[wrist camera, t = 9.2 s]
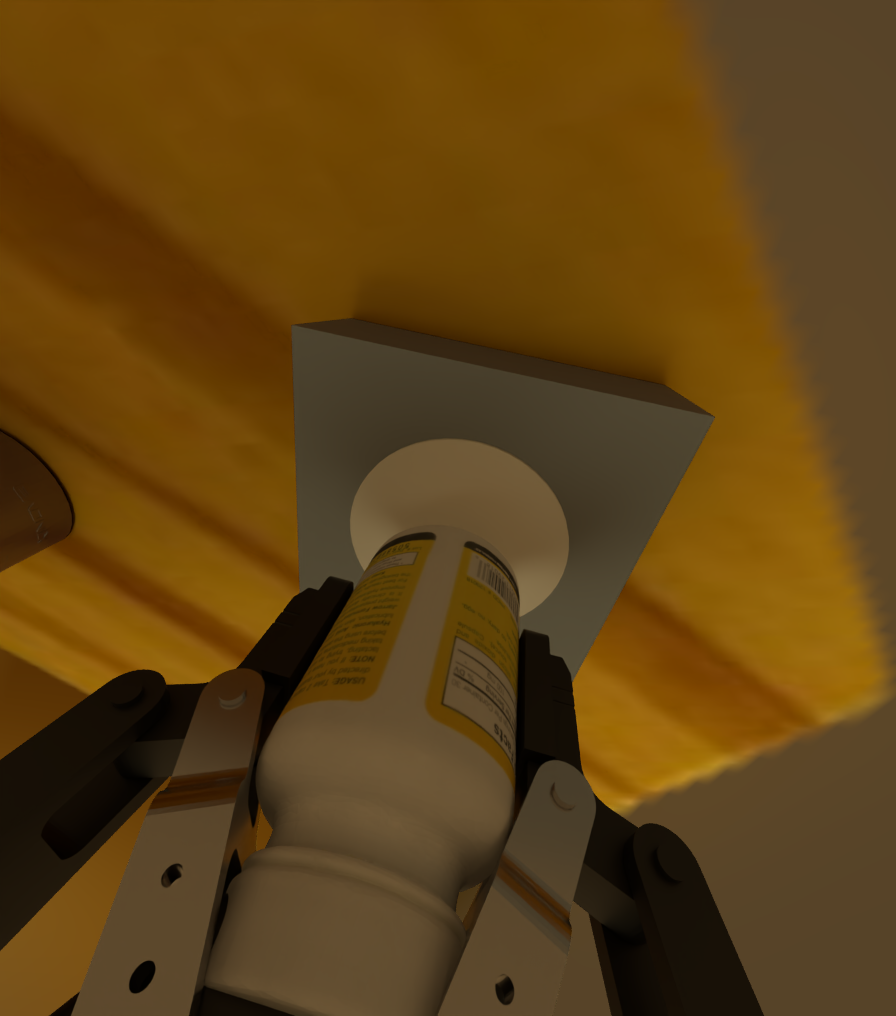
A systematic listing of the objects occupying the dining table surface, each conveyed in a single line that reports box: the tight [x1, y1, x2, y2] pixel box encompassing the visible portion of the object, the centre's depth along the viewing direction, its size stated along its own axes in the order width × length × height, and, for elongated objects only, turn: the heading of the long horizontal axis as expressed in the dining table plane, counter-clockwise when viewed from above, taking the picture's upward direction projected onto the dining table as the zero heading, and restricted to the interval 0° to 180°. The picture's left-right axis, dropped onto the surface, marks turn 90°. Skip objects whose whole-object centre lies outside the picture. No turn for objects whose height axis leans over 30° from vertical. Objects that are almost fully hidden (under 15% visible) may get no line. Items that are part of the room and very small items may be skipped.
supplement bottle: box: [204, 525, 520, 1016], centre depth 10 cm, size 5×5×10 cm
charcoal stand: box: [292, 318, 715, 681], centre depth 18 cm, size 14×14×5 cm
